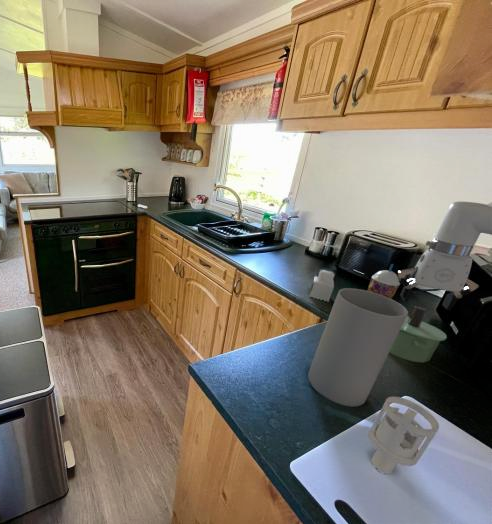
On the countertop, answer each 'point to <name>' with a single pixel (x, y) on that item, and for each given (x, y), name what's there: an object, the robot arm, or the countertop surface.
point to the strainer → (400, 435)
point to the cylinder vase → (355, 345)
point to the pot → (413, 347)
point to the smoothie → (384, 283)
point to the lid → (421, 326)
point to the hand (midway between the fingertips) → (424, 303)
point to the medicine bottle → (323, 285)
